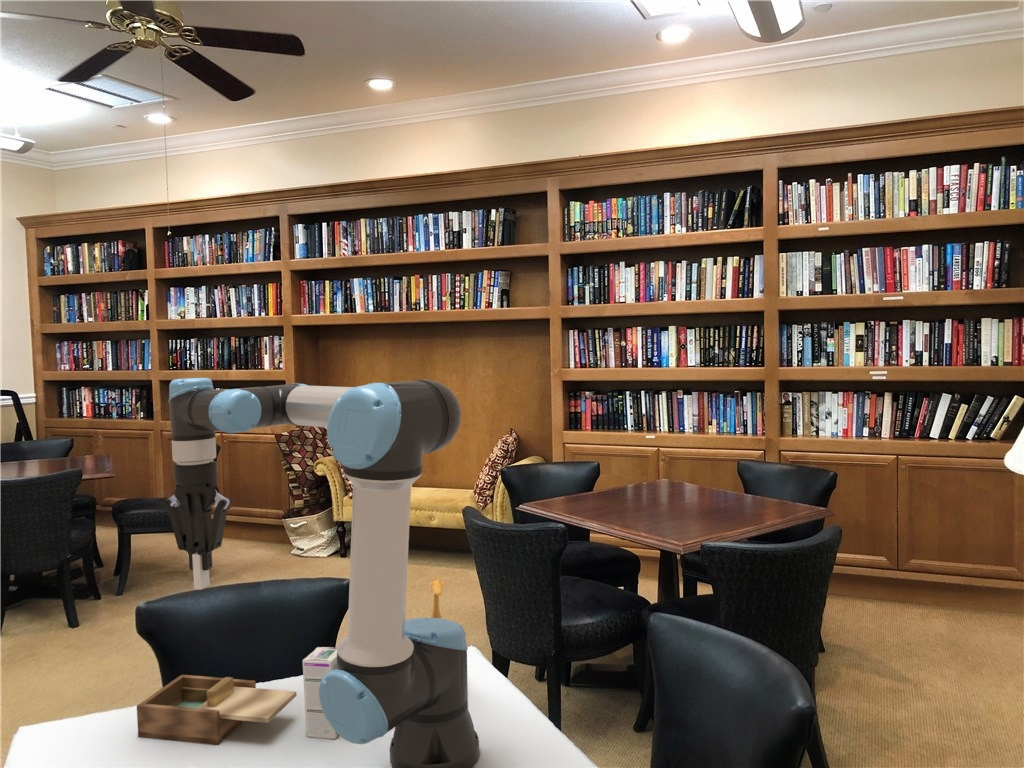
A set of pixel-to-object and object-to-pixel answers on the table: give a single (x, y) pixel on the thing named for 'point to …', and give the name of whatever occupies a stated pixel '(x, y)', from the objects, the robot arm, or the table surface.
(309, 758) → the table surface
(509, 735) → the table surface
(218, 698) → the cover plate
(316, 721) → the syrup box
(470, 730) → the robot arm
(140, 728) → the walnut box
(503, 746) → the table surface
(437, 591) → the giraffe
